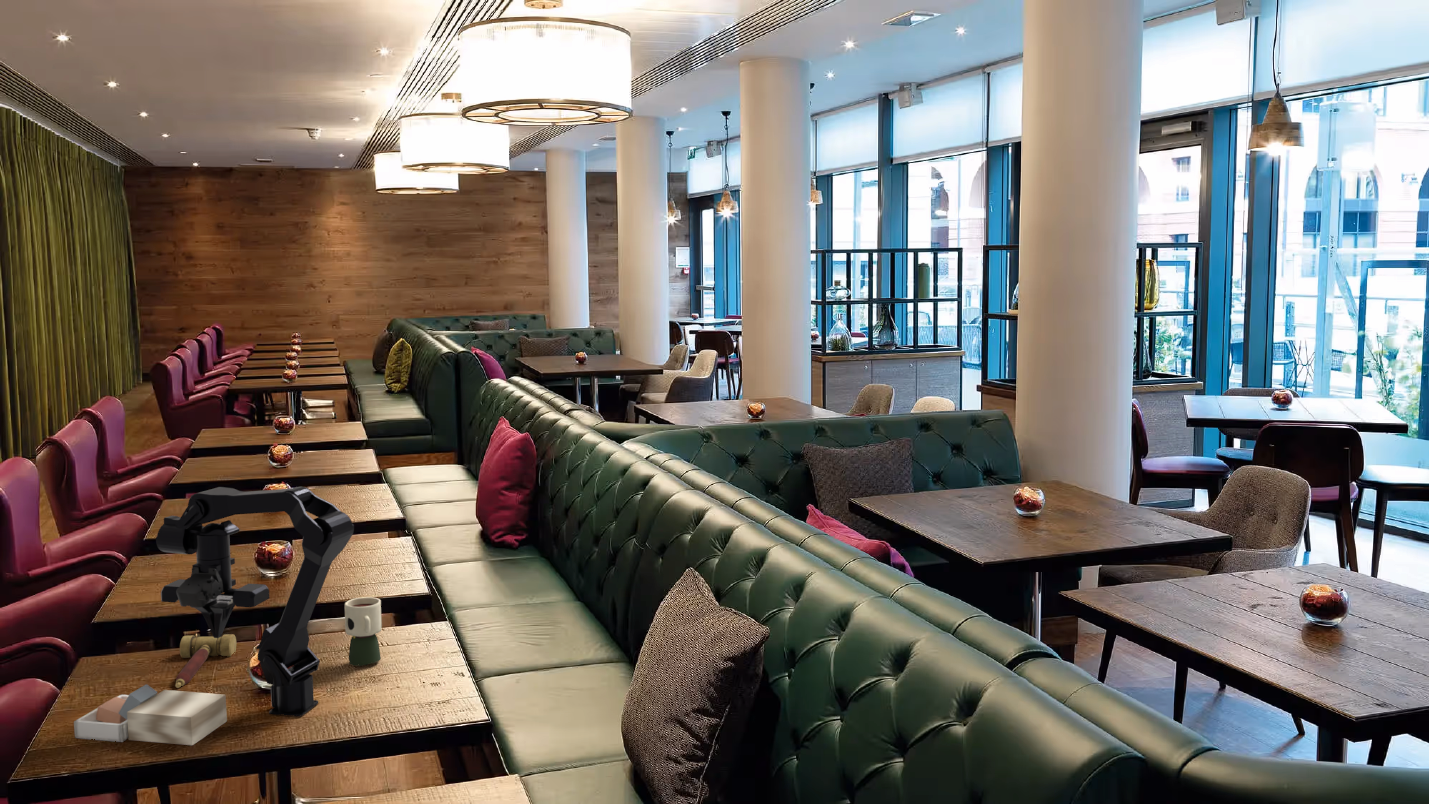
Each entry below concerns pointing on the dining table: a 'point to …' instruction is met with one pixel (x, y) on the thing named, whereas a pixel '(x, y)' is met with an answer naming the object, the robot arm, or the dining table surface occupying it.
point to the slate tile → (137, 699)
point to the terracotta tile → (111, 711)
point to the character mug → (363, 629)
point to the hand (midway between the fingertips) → (217, 637)
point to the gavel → (202, 653)
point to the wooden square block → (177, 717)
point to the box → (100, 728)
